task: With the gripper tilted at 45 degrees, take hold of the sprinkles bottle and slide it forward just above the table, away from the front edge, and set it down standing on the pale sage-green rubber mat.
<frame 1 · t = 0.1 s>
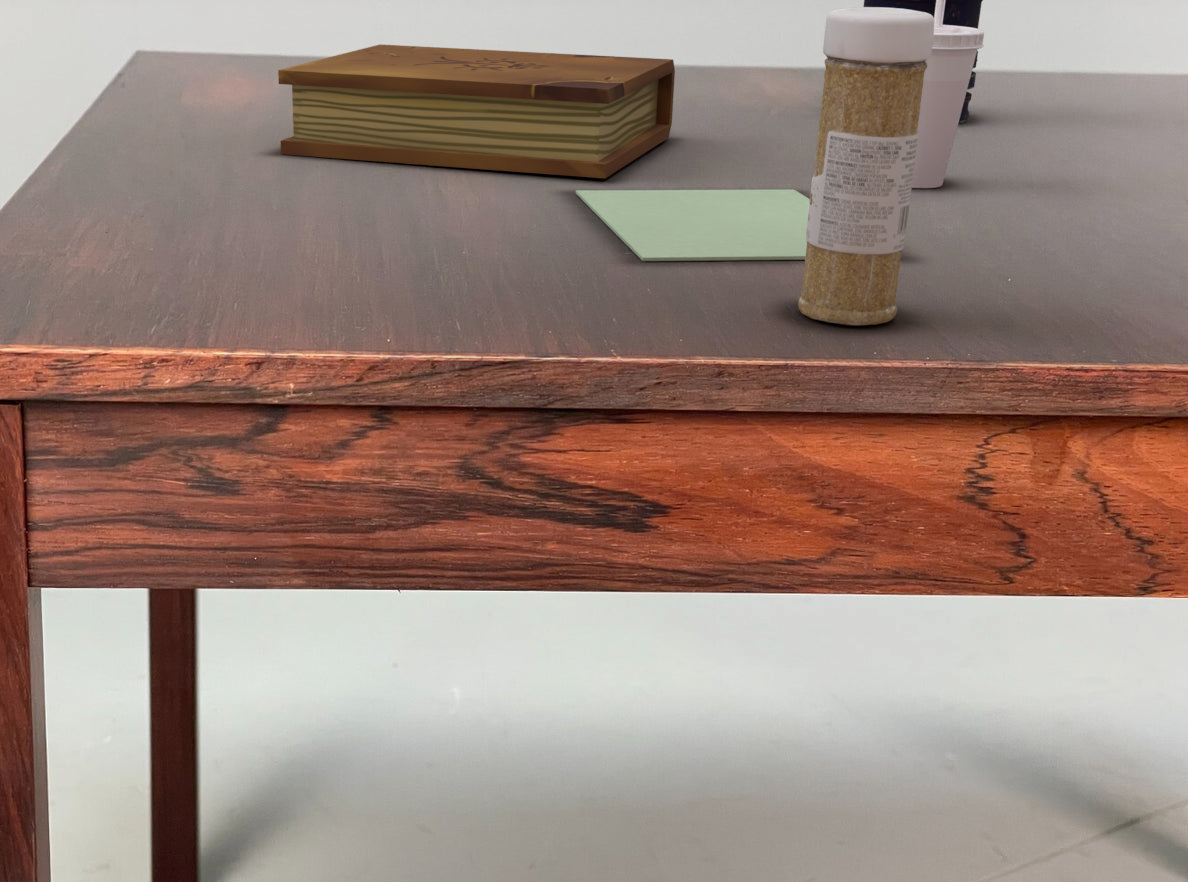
sprinkles bottle: (845, 320, 75), on the table
diary: (483, 149, 116), on the table
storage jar: (907, 118, 134), on the table
smoothie: (912, 185, 106), on the table
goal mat: (725, 223, 93), on the table
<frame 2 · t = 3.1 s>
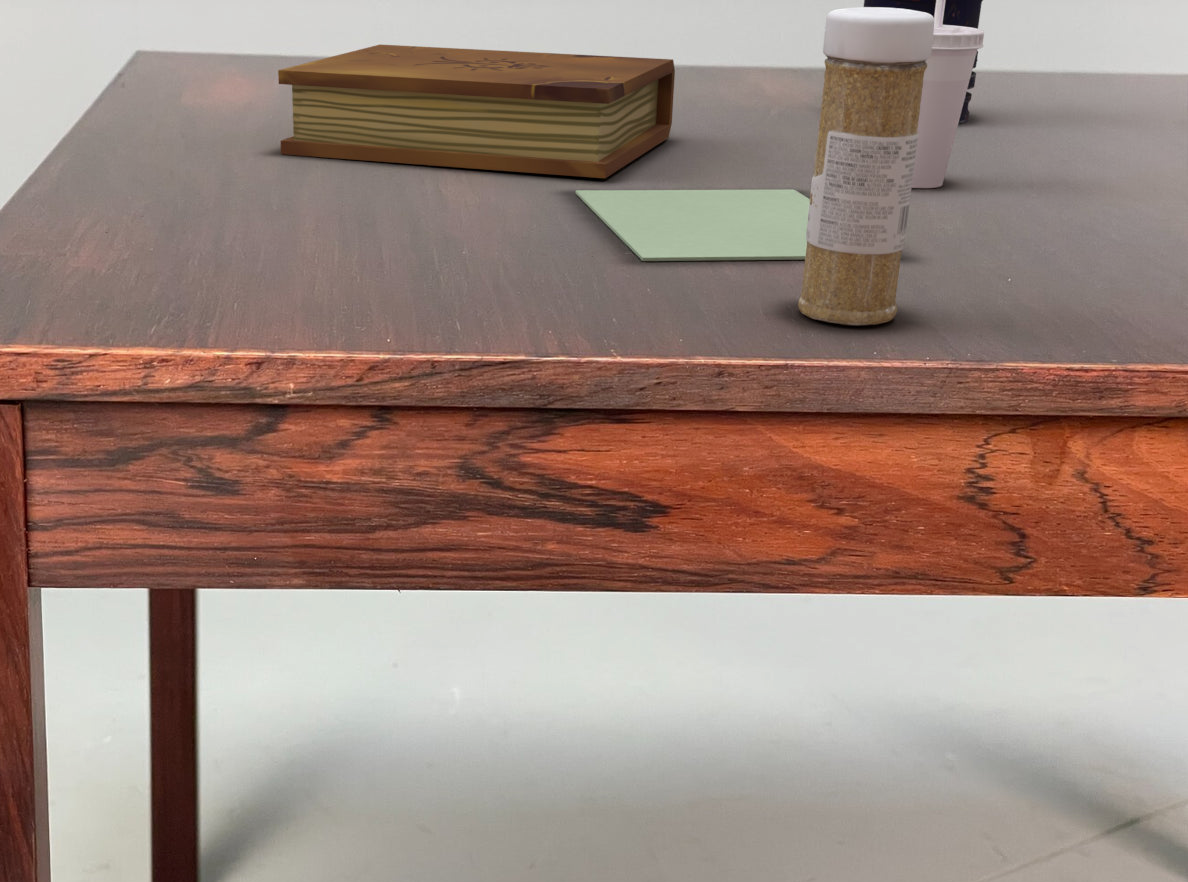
nothing on the table moved.
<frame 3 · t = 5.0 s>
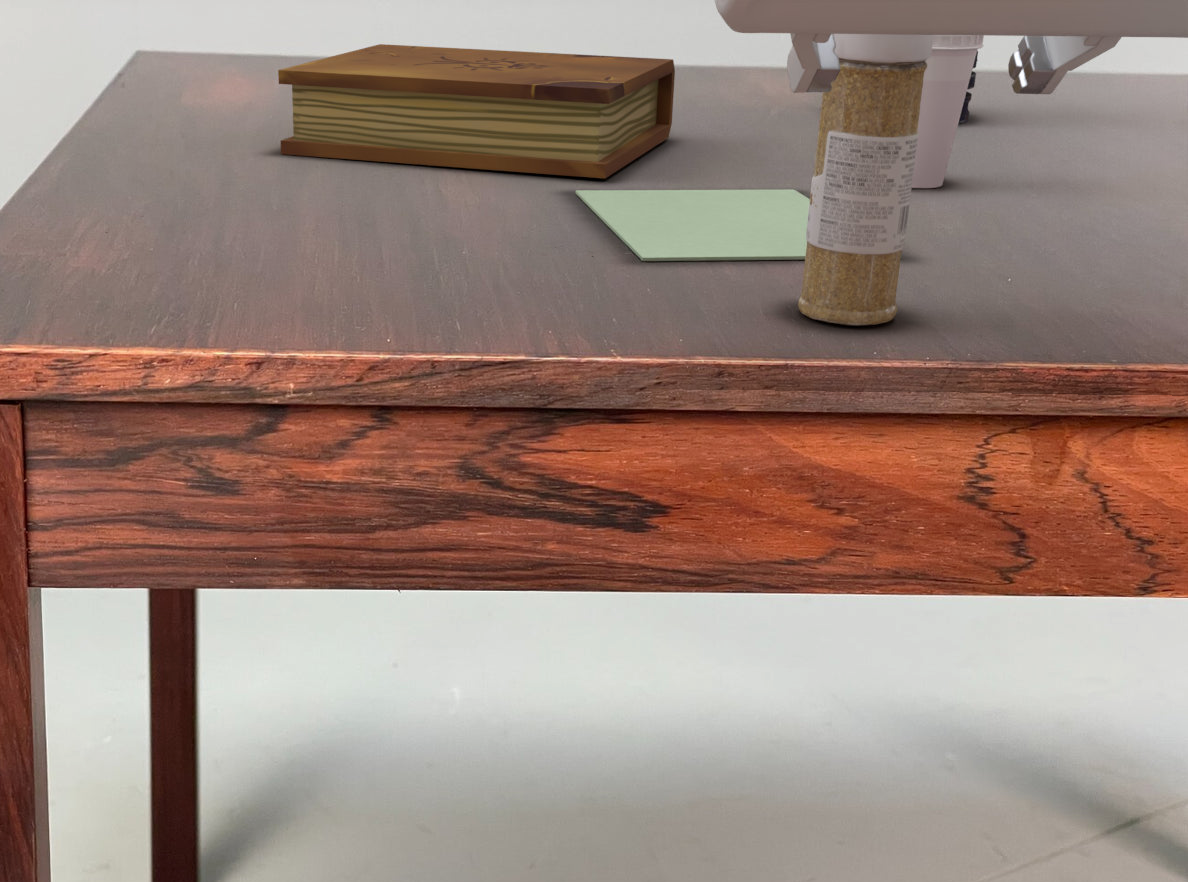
hand: (917, 80, 66), 11 cm above the table, tool tilted 45°, fingers open, 8 cm apart
nothing on the table moved.
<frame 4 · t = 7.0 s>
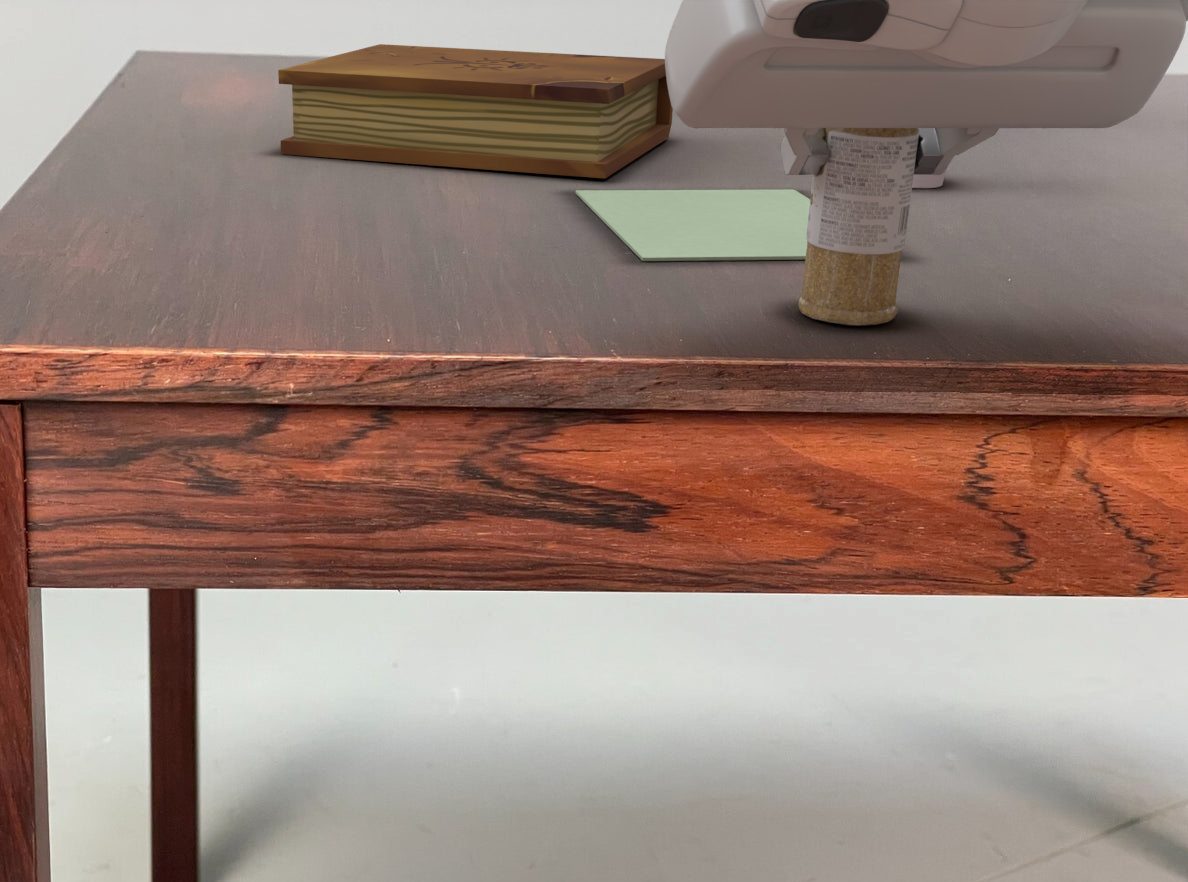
hand: (858, 162, 73), 7 cm above the table, tool tilted 45°, fingers closed on sprinkles bottle, 4 cm apart
sprinkles bottle: (846, 320, 75), on the table, touching gripper
everything else where it was.
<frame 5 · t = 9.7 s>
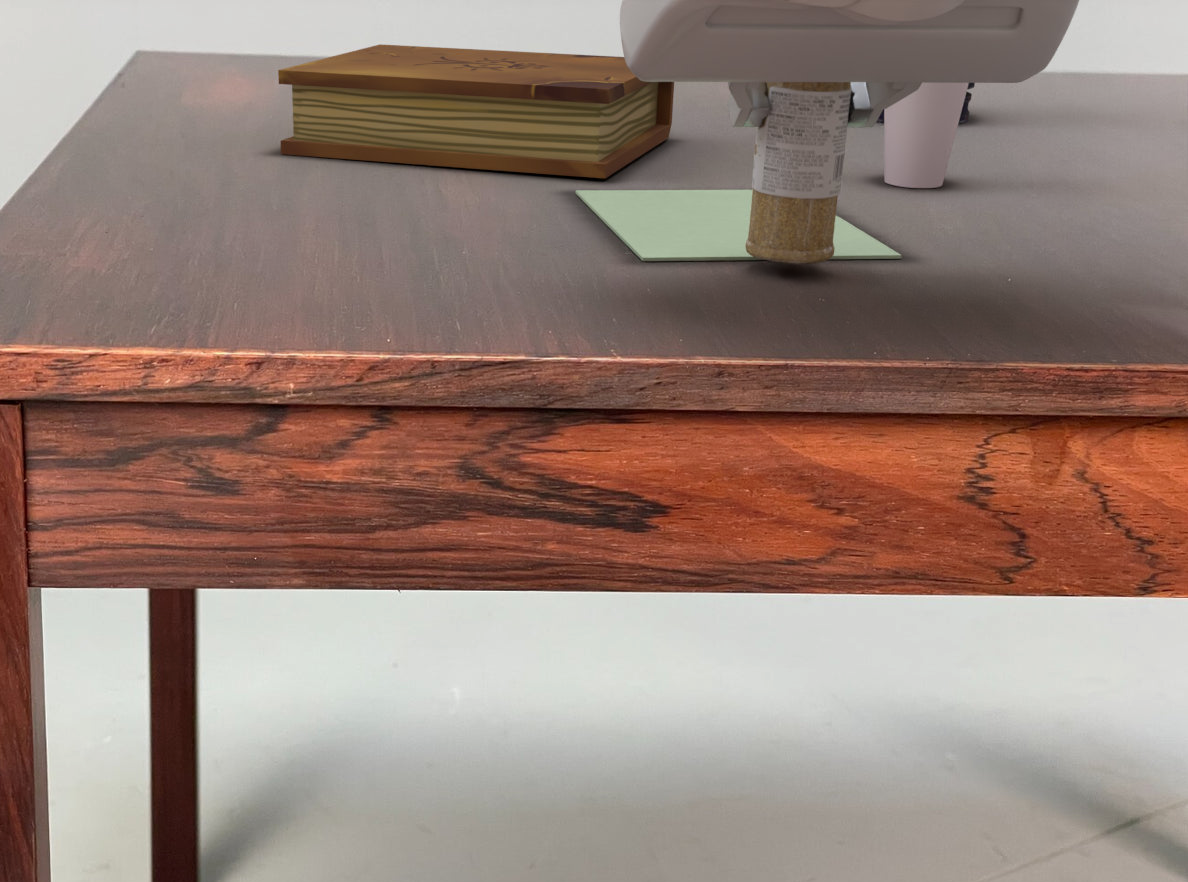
hand: (798, 116, 80), 8 cm above the table, tool tilted 45°, fingers closed on sprinkles bottle, 4 cm apart
sprinkles bottle: (788, 260, 83), point 1 cm above the table, touching gripper
everything else where it was.
when the fingers open (7 cm above the table, at t = 12.6 s): sprinkles bottle stays where it is, resting on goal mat.
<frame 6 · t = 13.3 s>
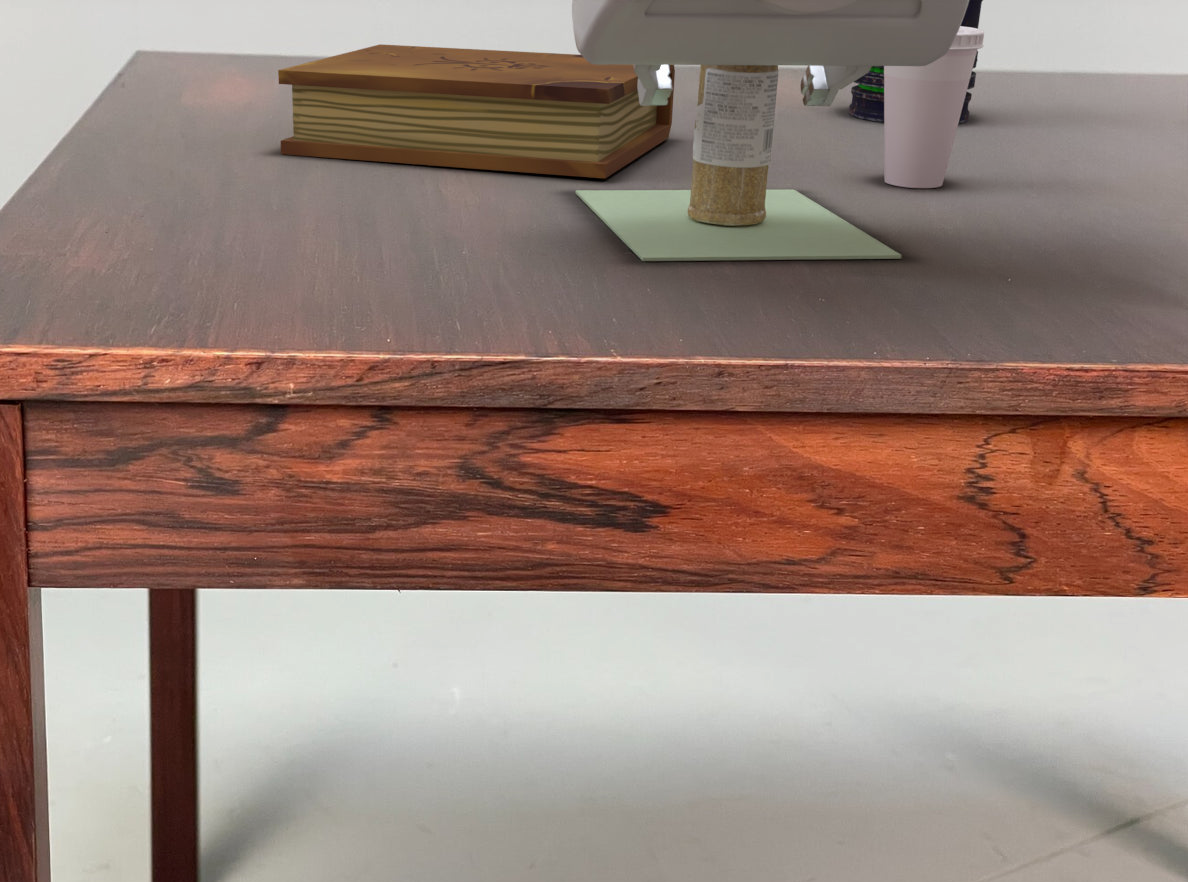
hand: (733, 96, 91), 7 cm above the table, tool tilted 45°, fingers open, 8 cm apart
sprinkles bottle: (725, 223, 93), resting on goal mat
everything else where it was.
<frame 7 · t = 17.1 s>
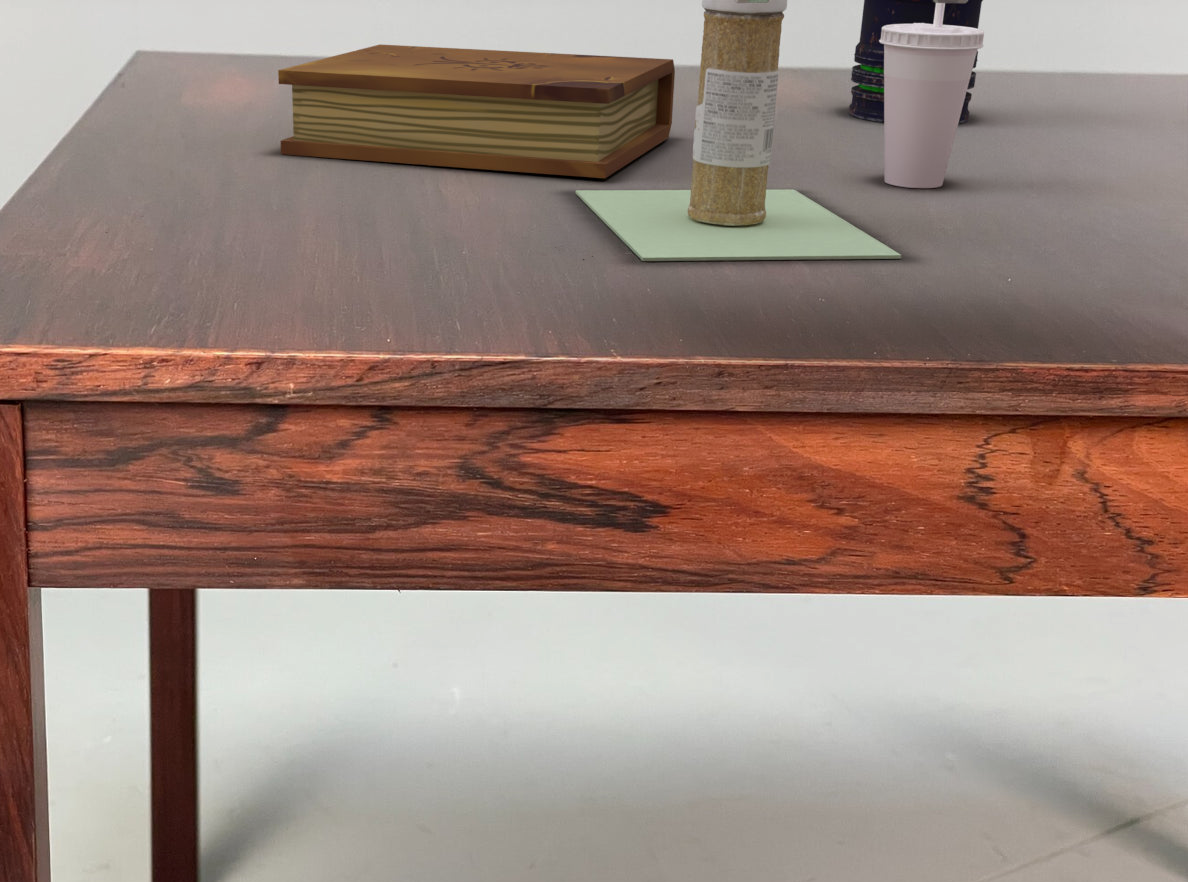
nothing on the table moved.
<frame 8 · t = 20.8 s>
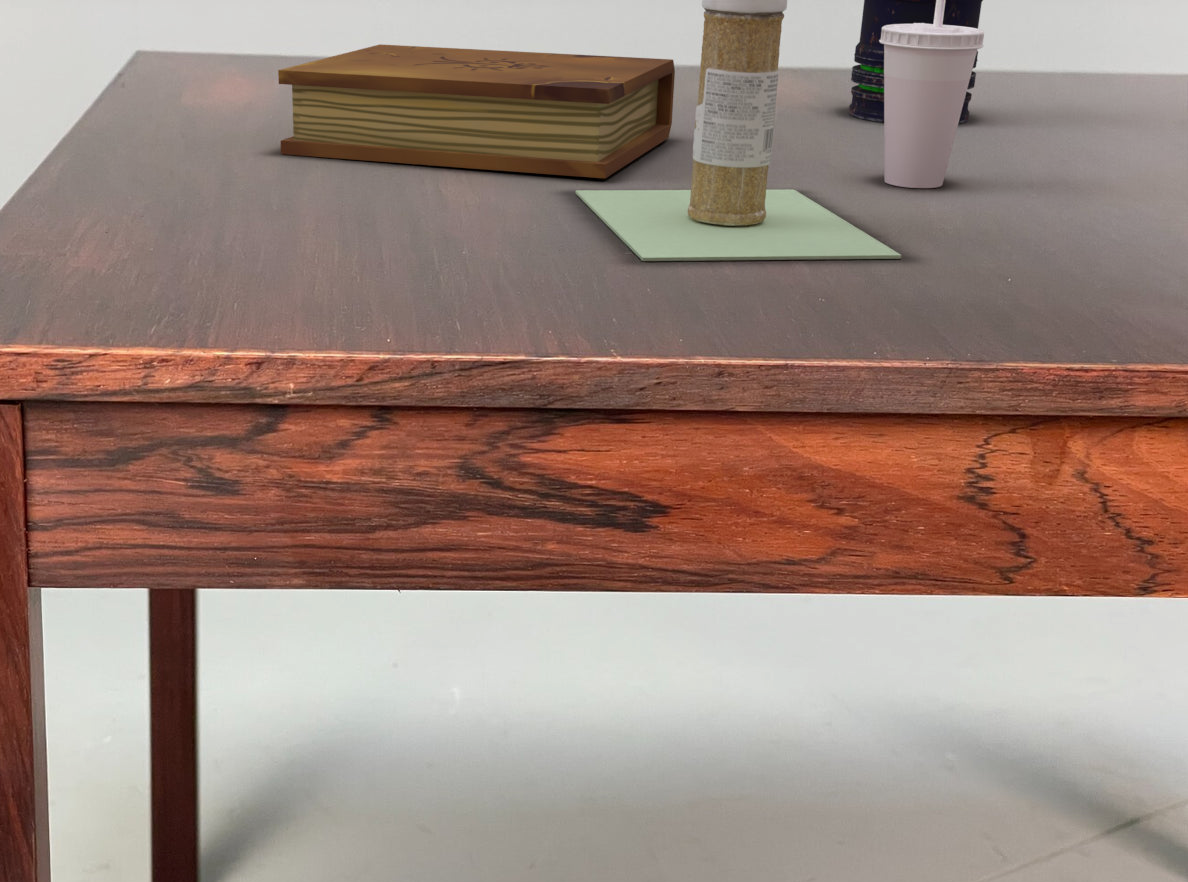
nothing on the table moved.
at the end: sprinkles bottle inside the target area on the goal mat (0.0 cm from its centre), point 0.0 cm above the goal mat's base; sprinkles bottle tilted 0°; sprinkles bottle moved 20.1 cm from its start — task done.
